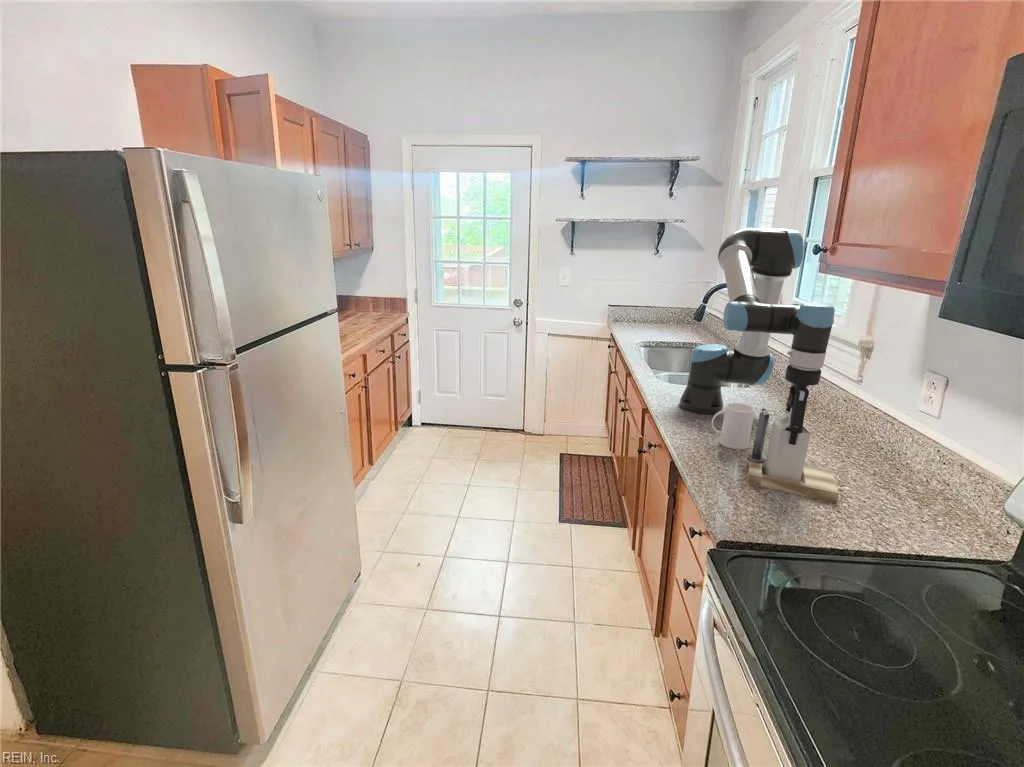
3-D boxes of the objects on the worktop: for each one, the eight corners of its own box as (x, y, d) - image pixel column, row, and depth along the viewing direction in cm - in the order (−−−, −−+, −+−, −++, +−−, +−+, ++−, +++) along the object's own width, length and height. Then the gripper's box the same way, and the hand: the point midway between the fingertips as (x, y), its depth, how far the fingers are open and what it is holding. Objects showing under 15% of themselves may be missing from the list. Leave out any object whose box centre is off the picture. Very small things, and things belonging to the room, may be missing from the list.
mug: (710, 446, 154) (716, 409, 151) (706, 435, 162) (711, 400, 159) (751, 451, 152) (758, 413, 149) (745, 440, 160) (751, 404, 157)
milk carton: (791, 475, 138) (806, 409, 132) (799, 487, 131) (814, 418, 126) (763, 471, 139) (776, 406, 134) (769, 483, 133) (783, 415, 127)
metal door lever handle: (746, 459, 146) (755, 407, 142) (762, 462, 145) (773, 409, 140) (745, 469, 140) (755, 415, 135) (763, 472, 138) (773, 418, 134)
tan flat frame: (748, 462, 144) (750, 454, 144) (829, 478, 137) (831, 470, 136) (747, 483, 132) (749, 474, 132) (836, 502, 124) (838, 493, 124)
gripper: (785, 353, 138) (770, 425, 145) (790, 377, 117) (772, 460, 123) (817, 357, 135) (800, 430, 142) (827, 382, 114) (807, 467, 120)
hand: (787, 444), depth 133 cm, fingers open, 13 cm apart
